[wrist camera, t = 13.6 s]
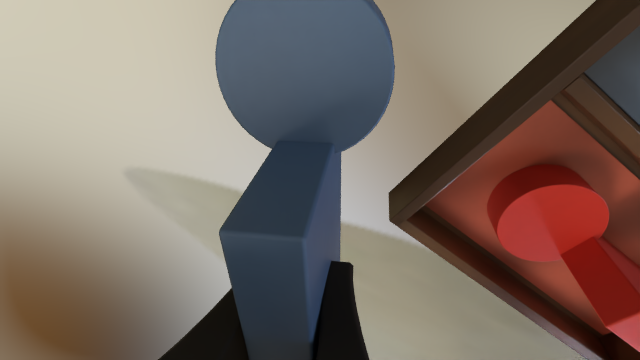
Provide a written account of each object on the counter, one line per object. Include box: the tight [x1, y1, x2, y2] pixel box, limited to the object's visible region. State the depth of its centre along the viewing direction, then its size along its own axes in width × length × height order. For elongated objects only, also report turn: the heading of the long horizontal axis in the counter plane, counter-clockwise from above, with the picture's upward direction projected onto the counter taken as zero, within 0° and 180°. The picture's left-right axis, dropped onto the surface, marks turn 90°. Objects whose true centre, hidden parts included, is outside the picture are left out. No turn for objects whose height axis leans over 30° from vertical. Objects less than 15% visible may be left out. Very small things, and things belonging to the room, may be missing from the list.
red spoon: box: [487, 164, 640, 352], centre depth 15 cm, size 13×4×6 cm, turn 55°
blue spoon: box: [216, 0, 395, 360], centre depth 9 cm, size 13×4×6 cm, turn 2°
